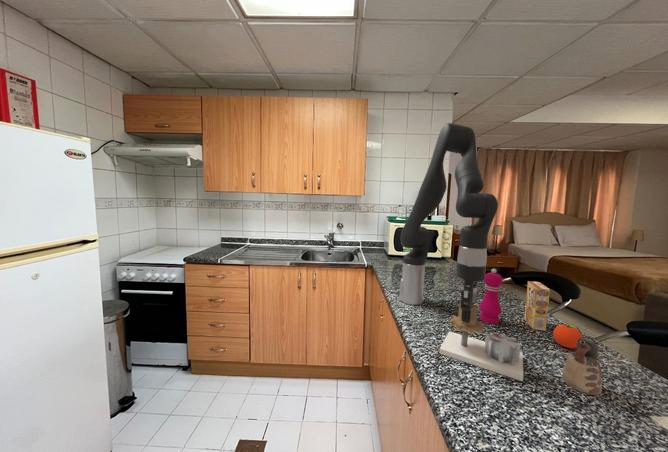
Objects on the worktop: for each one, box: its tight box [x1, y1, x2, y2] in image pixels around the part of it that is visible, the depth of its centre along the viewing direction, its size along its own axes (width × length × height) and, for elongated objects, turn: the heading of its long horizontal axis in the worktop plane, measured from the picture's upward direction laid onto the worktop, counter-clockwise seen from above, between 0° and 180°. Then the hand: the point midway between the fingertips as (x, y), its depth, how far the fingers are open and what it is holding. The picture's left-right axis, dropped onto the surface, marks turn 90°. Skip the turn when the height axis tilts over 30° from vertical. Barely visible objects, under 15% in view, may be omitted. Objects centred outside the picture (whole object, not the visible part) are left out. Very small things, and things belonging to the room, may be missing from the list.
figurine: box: [562, 337, 603, 396], centre depth 66 cm, size 7×7×12 cm
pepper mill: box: [479, 268, 503, 325], centre depth 101 cm, size 7×7×20 cm
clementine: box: [553, 324, 583, 349], centre depth 84 cm, size 8×7×7 cm
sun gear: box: [485, 331, 522, 366], centre depth 75 cm, size 8×8×5 cm
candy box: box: [524, 280, 551, 332], centre depth 98 cm, size 9×4×15 cm, turn 162°
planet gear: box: [449, 302, 485, 335], centre depth 79 cm, size 9×9×6 cm
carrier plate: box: [439, 330, 524, 382], centre depth 78 cm, size 20×13×7 cm, turn 56°
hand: (466, 318), depth 79 cm, fingers closed on planet gear, 4 cm apart
